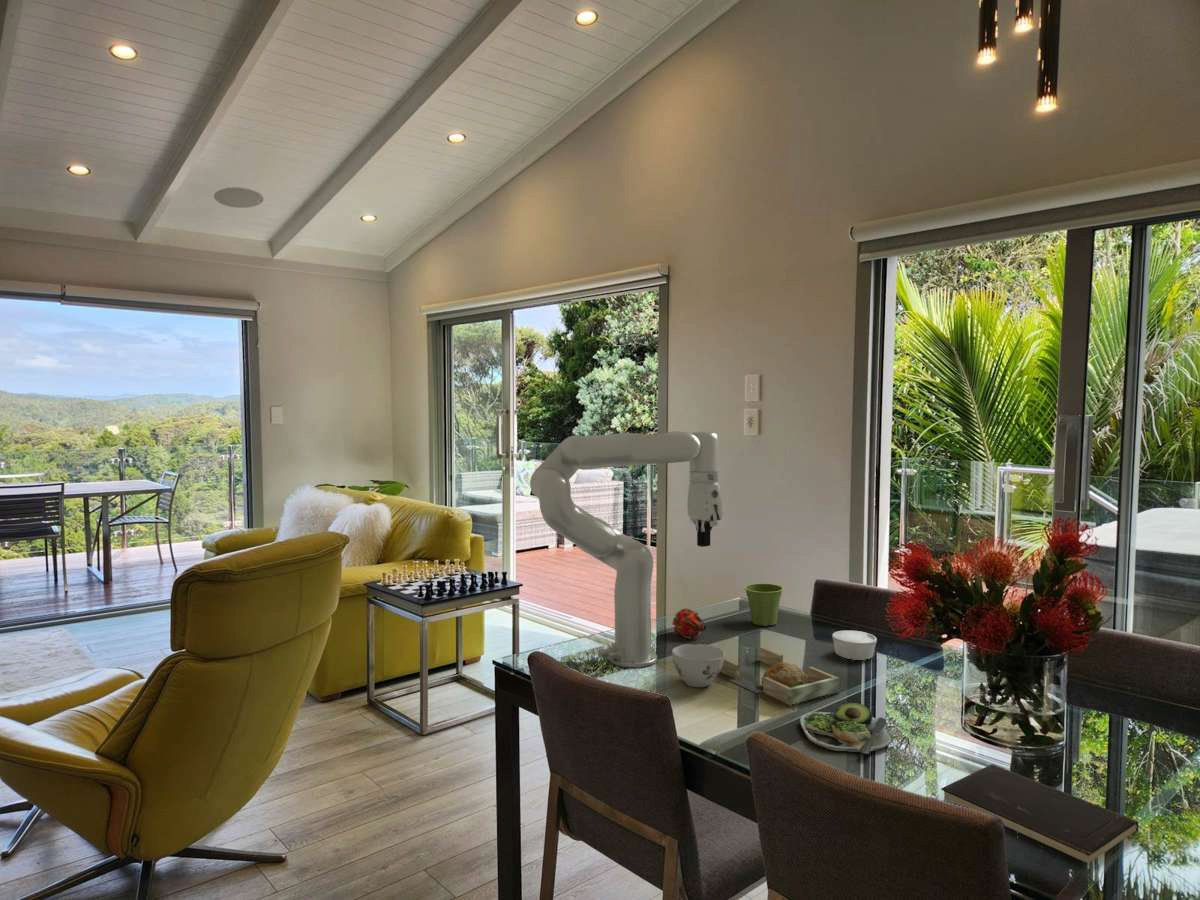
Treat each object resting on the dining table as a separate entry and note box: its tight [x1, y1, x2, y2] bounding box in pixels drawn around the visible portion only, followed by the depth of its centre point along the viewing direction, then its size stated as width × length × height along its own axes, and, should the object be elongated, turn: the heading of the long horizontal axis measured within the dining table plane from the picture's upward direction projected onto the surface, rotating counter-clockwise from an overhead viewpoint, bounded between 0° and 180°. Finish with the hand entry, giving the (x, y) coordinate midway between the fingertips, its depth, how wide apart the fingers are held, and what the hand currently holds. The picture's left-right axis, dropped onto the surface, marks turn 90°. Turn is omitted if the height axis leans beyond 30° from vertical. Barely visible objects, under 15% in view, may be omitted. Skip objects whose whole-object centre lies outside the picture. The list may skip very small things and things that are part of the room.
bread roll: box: [761, 662, 809, 688], centre depth 179 cm, size 10×10×8 cm
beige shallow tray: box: [719, 646, 841, 706], centre depth 184 cm, size 19×27×4 cm
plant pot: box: [743, 582, 785, 627], centre depth 233 cm, size 12×12×11 cm
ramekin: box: [831, 629, 878, 661], centre depth 203 cm, size 11×11×5 cm
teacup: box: [671, 643, 726, 688], centre depth 184 cm, size 15×12×8 cm
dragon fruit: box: [672, 608, 707, 640], centre depth 221 cm, size 8×8×12 cm
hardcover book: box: [941, 763, 1139, 864], centre depth 123 cm, size 16×23×2 cm
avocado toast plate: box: [799, 702, 892, 755], centre depth 152 cm, size 19×18×5 cm
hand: (703, 545), depth 205 cm, fingers closed
